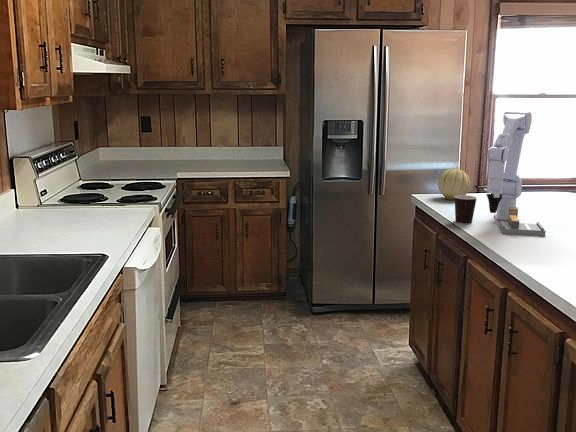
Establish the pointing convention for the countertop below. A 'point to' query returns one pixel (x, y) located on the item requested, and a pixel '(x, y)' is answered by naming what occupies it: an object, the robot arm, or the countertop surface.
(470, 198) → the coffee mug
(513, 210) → the oak post
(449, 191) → the cantaloupe
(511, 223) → the breaker toggle
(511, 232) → the box
